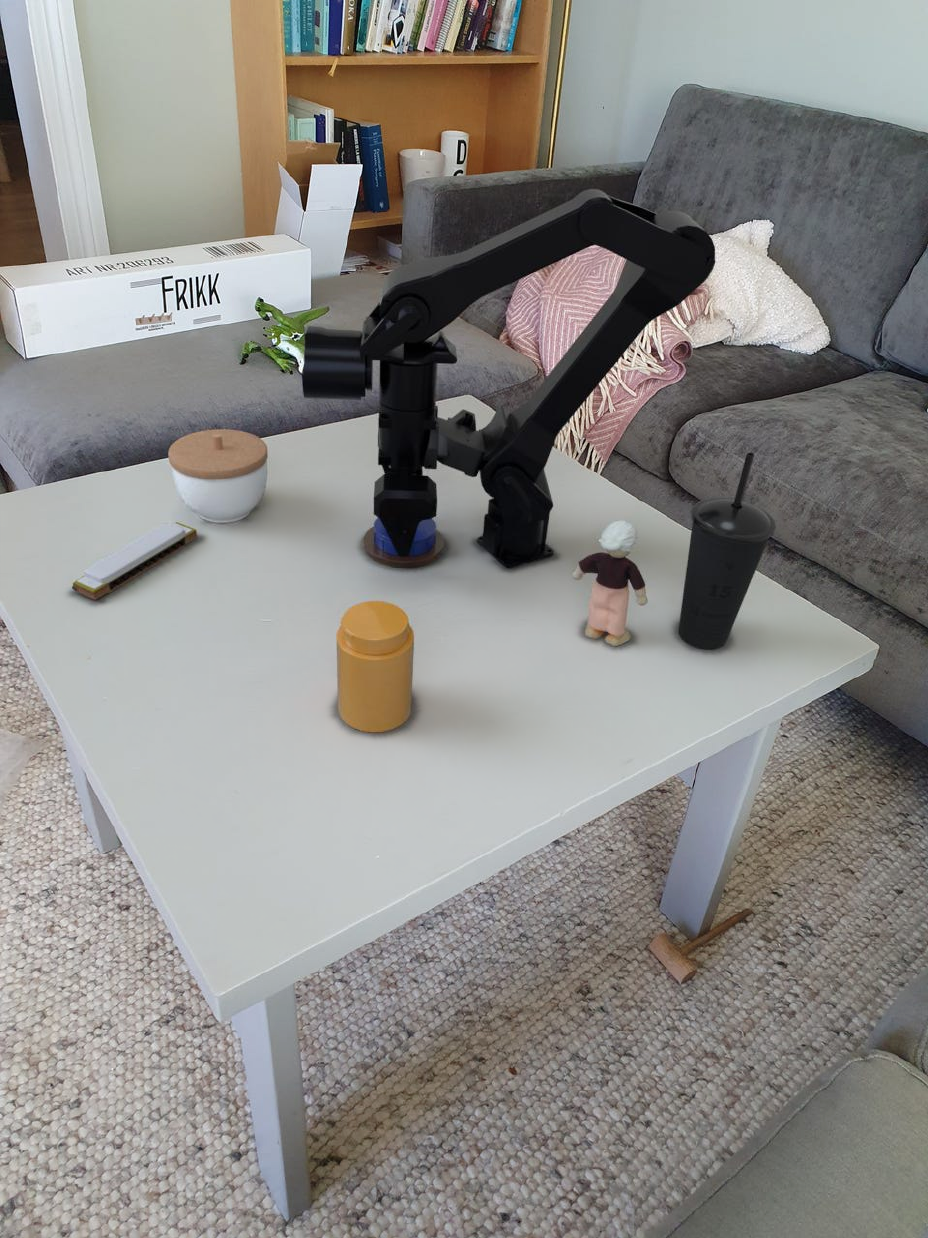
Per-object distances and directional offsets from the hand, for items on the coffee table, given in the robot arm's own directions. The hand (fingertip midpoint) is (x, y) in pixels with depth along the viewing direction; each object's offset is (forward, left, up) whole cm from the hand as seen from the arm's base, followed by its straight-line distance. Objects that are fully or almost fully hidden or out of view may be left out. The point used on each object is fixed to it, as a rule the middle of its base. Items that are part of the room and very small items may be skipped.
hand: (403, 533), depth 101 cm
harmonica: (+27, -9, -2) cm, 28 cm away
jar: (+15, +23, -2) cm, 27 cm away
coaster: (0, 0, -2) cm, 2 cm away
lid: (0, 0, +1) cm, 1 cm away
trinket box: (+15, -16, -2) cm, 22 cm away
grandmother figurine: (-10, +23, -2) cm, 25 cm away
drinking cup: (-19, +28, -2) cm, 34 cm away
